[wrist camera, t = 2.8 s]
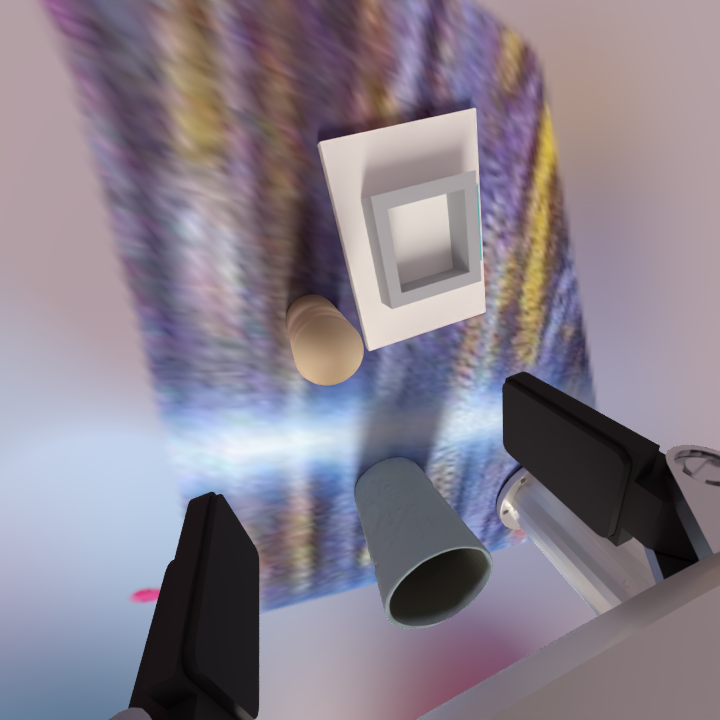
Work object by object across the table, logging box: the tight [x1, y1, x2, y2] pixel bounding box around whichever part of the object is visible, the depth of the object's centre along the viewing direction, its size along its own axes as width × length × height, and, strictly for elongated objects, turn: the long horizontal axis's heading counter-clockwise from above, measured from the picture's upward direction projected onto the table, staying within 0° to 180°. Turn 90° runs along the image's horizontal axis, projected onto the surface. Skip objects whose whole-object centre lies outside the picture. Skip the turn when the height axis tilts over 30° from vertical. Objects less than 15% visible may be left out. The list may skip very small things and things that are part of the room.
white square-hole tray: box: [317, 108, 486, 351], centre depth 25 cm, size 12×16×4 cm
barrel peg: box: [286, 294, 364, 385], centre depth 23 cm, size 4×4×8 cm
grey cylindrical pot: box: [355, 457, 493, 629], centre depth 31 cm, size 10×10×12 cm
